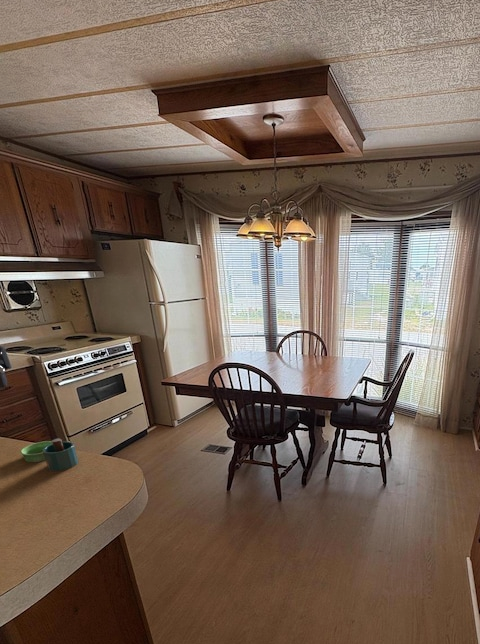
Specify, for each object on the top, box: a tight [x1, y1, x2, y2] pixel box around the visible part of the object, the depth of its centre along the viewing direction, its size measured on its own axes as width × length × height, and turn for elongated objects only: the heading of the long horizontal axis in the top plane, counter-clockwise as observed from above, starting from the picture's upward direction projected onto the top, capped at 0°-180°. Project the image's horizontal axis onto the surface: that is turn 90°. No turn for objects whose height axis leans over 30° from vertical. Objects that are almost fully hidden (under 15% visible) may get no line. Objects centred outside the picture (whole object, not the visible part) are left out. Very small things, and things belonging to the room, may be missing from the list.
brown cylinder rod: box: [51, 438, 64, 452], centre depth 101 cm, size 2×2×9 cm
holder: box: [42, 441, 80, 472], centre depth 102 cm, size 7×7×8 cm
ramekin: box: [20, 440, 53, 463], centre depth 107 cm, size 9×9×4 cm
